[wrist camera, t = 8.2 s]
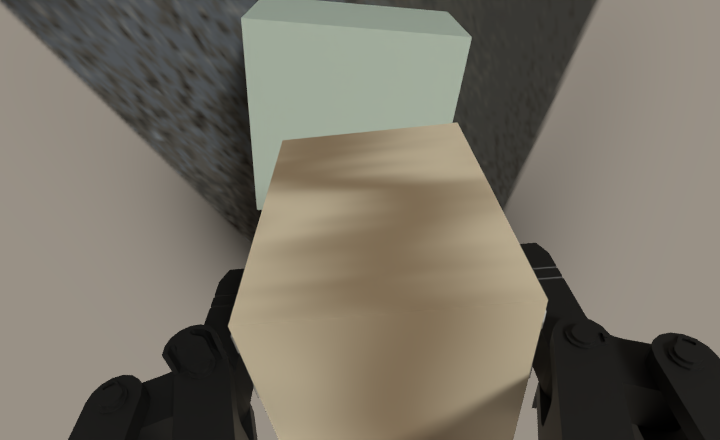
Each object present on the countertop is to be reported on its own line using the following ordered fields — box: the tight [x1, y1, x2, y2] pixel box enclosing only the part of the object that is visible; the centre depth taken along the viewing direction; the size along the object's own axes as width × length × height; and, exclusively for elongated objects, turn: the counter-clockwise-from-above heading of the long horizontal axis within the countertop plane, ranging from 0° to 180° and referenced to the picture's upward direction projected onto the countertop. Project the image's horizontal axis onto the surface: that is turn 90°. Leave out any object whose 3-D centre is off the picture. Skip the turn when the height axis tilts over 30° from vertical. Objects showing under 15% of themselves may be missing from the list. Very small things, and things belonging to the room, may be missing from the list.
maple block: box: [228, 123, 548, 440], centre depth 13 cm, size 6×6×8 cm
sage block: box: [241, 0, 472, 210], centre depth 28 cm, size 12×12×7 cm
